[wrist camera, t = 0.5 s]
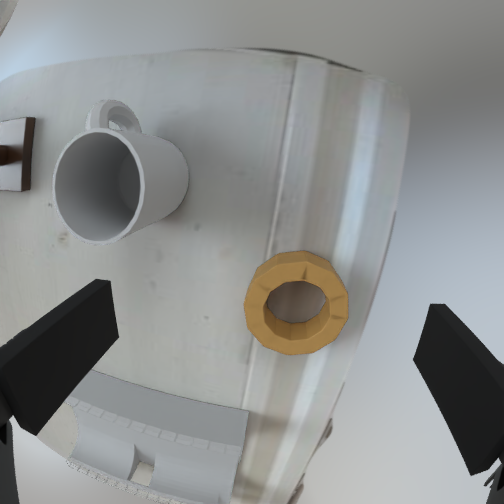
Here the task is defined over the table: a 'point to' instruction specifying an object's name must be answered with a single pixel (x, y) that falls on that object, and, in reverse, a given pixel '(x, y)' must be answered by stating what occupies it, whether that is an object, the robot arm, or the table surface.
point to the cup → (116, 177)
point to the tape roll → (296, 334)
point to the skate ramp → (157, 439)
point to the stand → (16, 153)
